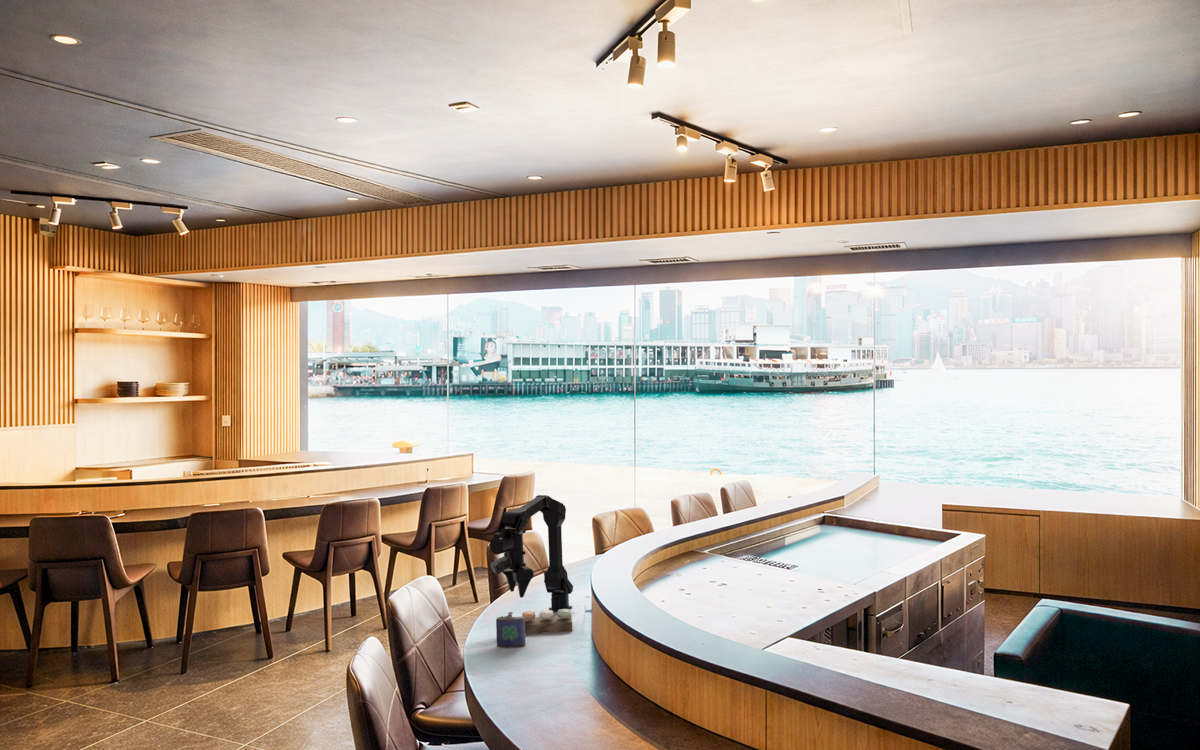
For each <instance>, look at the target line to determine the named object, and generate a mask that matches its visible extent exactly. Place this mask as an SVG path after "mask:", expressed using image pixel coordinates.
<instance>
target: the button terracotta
mask: <svg viewBox="0 0 1200 750" xmlns="http://www.w3.org/2000/svg"><path fill="white" fill-rule="evenodd" d="M521 617H524V618H525V620H530V619H534V618H535V617H536V612H535V611H532V610H529V611H524V612H522V613H521Z"/></svg>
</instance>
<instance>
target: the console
mask: <svg viewBox="0 0 1200 750" xmlns="http://www.w3.org/2000/svg"><path fill="white" fill-rule="evenodd" d="M572 617H573V616H572V615H571V616H569V617H558V615H555V616H554V615H553V617H552V618H547V619H544V618H540V616H537V617H536V616H535V618H534V619H530V620H525V635H530V634H529V633H536V634H544V633H543V632H551V633H562V632H564V633H566V631H567V632H573V618H572Z"/></svg>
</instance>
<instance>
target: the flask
mask: <svg viewBox="0 0 1200 750" xmlns="http://www.w3.org/2000/svg"><path fill="white" fill-rule="evenodd" d="M513 613H514V612H513V611H510V612H509V611H508V612H507V615H504V616H503V615H501V616H498V617H496V619H495V623H496V624H495V629H496V647H497V648H499V647H501V648H503V647H506V649H507V648H508V649H510V648H521V647H523V648H524V647H525V646H526V634H525V618H524V617H522V616H513ZM509 647H510V648H509ZM503 649H504V648H503Z"/></svg>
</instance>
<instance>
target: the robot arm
mask: <svg viewBox="0 0 1200 750" xmlns="http://www.w3.org/2000/svg"><path fill="white" fill-rule="evenodd" d="M566 511H567V508H566V505H564V503H563V502H561V501H558V500H557V499H554V498H552V497H551V496H550V495H548V494H538V495H535V497H534V498H533V499H531V500H530V501H528V502H526V503H525V504H523V505H522V506H521V507H519V508H514V509H513V508H512V509H510V510H507V511H505V512H504V513H503V514H502V517H501V519H500V521H499V525H498V527H497V531H496V532H495V533H493V537H492V538H491V539H490V541H489V544H488V546H489V550H490V552H491V553H492V554H493V555H496V556H497V555H501V554H503V556H502V557H499V558H498V559H496V560H494V561H492V562H490V564H489V565H490V568H491V570H492V572H493V574H495V575H500V574H503V575H504V576H505V578H506V581H507V584H508V587H509V591H510V592H512V593H513V592H514V591H515V588H516V584H517V590H518V594H519V598H521V599H522V598H524V596H525V594H526V591H527V589H528V586H529V584H530V582H531V580H532V579H533V578H534V576H535V572H534V571H535V570H533V569H532V568H530V567H528V566H527V563H525V561H524V560H525V559H524V557H525V556H524V555H526V551H525V550H524V537H523V535H524V534H526V533H527V531H526V529H524V527H525V526H526V525H527V523H528V520H529V519H530V518H532V517H533V516H534V515H536V514H537V513H539V512H540V513H541V514H542V518H543V521H544V523H545V525H546V526H547V533H548V534H547V536H548V537H547V538H548V542H547V543H548V564H549V565H548V568H547V569H546V571H544V573H543V577H544V580H543V583H544V585H545V590H546V593H548V594H549V593H550V594H551V599H550V602H551V607H548V610H552V611H553V612H554V611H555V612H558V610H560V609H570V610H571V609H572V608H573V606H572V605H570V602H569V599H570V598H569V596H570V595H569V594H571V595H572V592H573V591H574V590H573V589H574V585H573V583H571V581H570V579H569V577H568V571H567V570H566V568H565V566H564V565H563V538H562V537H563V536H562V525H563V524H564V521H565V520H566V513H567V512H566Z"/></svg>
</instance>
